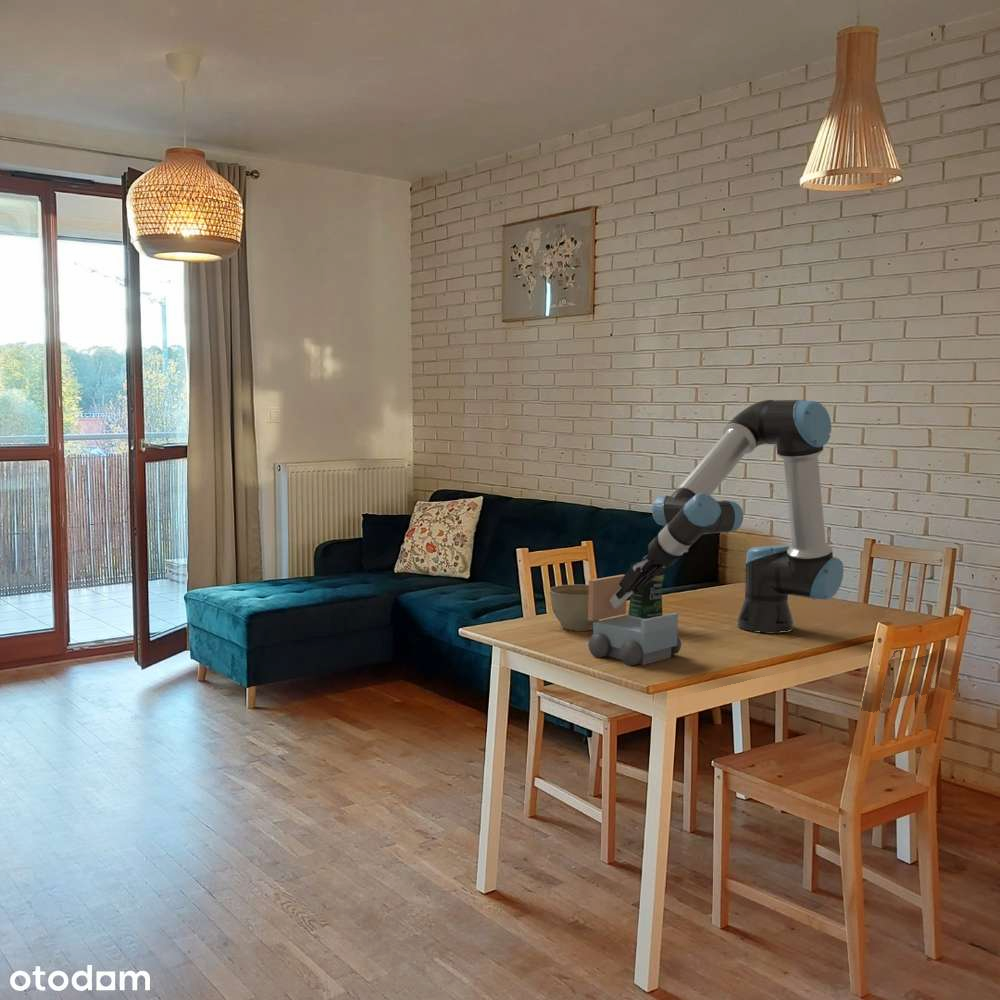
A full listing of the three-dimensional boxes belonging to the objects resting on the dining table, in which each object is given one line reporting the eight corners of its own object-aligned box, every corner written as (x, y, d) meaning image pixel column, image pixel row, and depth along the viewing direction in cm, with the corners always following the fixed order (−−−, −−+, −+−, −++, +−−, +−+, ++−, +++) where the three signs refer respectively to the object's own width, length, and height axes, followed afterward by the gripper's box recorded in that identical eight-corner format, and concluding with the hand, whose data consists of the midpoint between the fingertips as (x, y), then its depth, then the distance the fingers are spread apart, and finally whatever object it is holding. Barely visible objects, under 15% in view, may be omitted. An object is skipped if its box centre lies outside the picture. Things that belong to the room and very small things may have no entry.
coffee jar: (643, 632, 277) (644, 564, 275) (623, 626, 283) (624, 560, 281) (668, 627, 283) (669, 561, 281) (647, 622, 289) (649, 558, 287)
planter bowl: (575, 619, 292) (576, 582, 291) (618, 628, 280) (619, 590, 279) (536, 627, 281) (537, 588, 280) (579, 637, 269) (580, 597, 268)
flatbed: (681, 656, 250) (682, 612, 249) (638, 667, 239) (639, 621, 238) (630, 644, 262) (631, 602, 261) (587, 655, 250) (588, 611, 249)
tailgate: (625, 613, 260) (626, 575, 259) (592, 620, 251) (593, 580, 250) (620, 612, 261) (621, 574, 260) (586, 619, 253) (587, 579, 252)
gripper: (661, 560, 234) (604, 619, 248) (694, 554, 243) (638, 612, 257) (643, 535, 238) (588, 595, 251) (677, 530, 247) (622, 588, 260)
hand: (613, 603), depth 254 cm, fingers closed
